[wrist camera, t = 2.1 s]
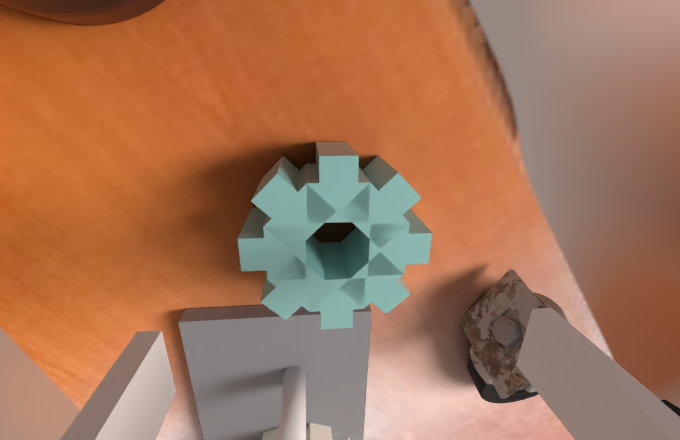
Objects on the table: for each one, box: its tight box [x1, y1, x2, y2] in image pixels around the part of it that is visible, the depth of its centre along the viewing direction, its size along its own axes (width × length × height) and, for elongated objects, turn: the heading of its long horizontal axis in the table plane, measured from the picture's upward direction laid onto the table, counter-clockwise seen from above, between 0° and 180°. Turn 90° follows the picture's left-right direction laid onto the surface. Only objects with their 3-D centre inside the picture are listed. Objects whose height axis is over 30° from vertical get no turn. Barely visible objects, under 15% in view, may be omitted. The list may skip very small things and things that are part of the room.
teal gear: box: [238, 142, 432, 330], centre depth 20 cm, size 11×11×5 cm
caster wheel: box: [460, 269, 572, 403], centre depth 26 cm, size 7×11×10 cm
